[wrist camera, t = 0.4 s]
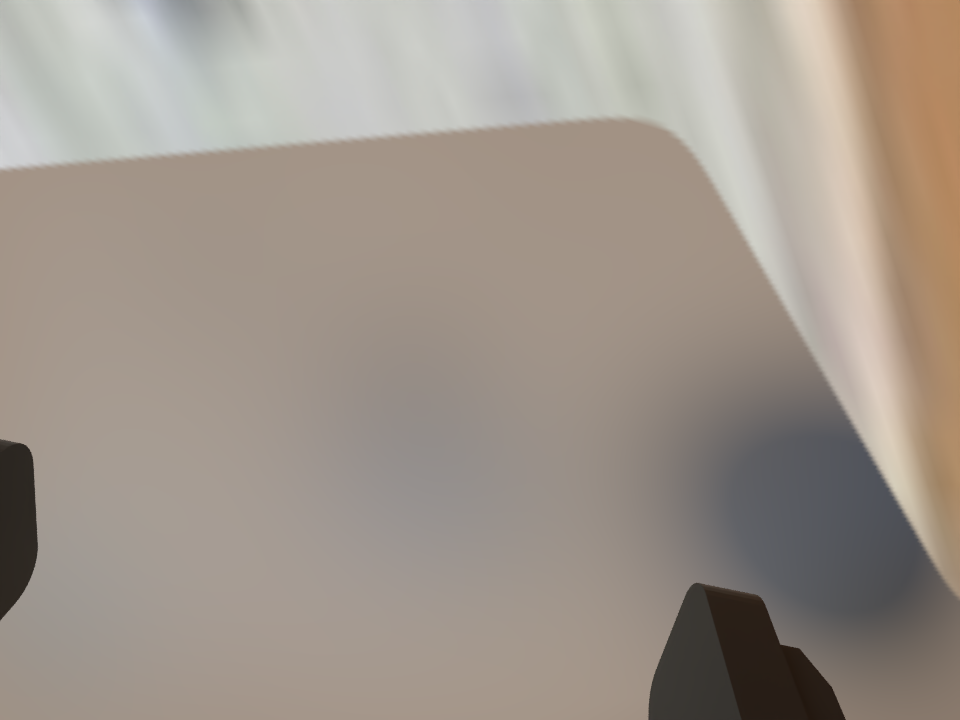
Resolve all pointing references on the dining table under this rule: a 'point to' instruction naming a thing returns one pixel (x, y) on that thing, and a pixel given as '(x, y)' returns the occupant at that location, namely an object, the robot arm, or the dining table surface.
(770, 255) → the dining table surface
